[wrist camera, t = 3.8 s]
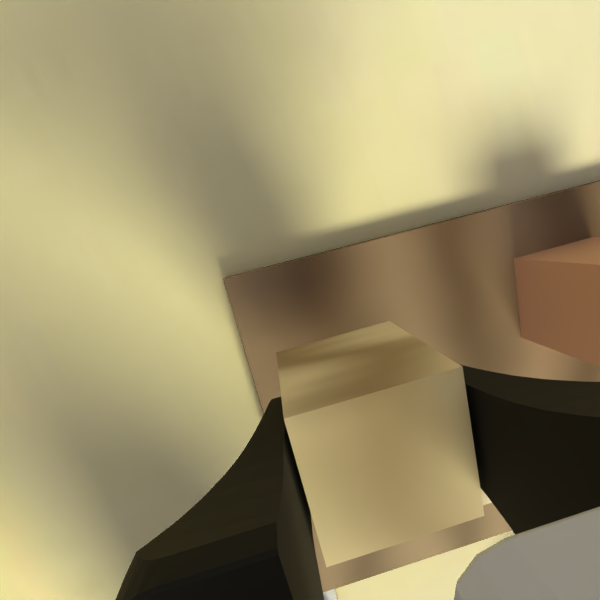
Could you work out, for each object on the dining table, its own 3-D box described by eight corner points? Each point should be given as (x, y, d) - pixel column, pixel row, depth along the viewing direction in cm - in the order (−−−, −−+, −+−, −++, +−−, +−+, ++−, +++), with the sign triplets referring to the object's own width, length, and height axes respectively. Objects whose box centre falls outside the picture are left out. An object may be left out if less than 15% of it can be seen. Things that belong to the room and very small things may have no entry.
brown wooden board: (316, 579, 20) (318, 596, 19) (225, 277, 16) (222, 279, 15) (626, 478, 21) (643, 489, 20) (619, 175, 17) (640, 171, 16)
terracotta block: (521, 337, 17) (609, 370, 13) (513, 258, 16) (605, 265, 12) (594, 316, 18) (704, 341, 13) (591, 237, 17) (708, 236, 12)
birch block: (304, 453, 13) (326, 567, 8) (276, 352, 12) (283, 418, 7) (409, 422, 13) (484, 515, 8) (389, 320, 12) (462, 366, 8)
